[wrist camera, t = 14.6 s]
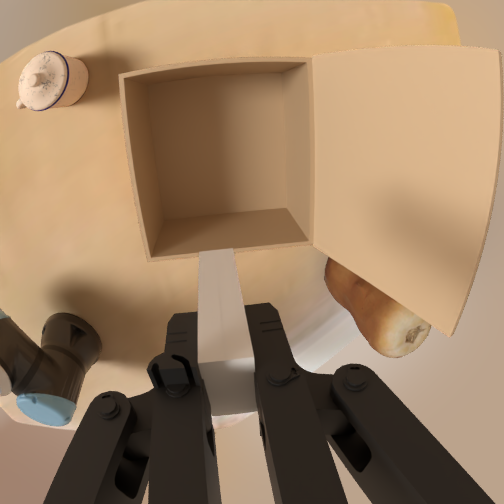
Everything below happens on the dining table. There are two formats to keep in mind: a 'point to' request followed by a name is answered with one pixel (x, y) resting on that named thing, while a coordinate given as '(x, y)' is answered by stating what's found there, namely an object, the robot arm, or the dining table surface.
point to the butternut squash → (376, 313)
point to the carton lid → (408, 168)
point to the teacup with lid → (52, 82)
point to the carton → (221, 154)
